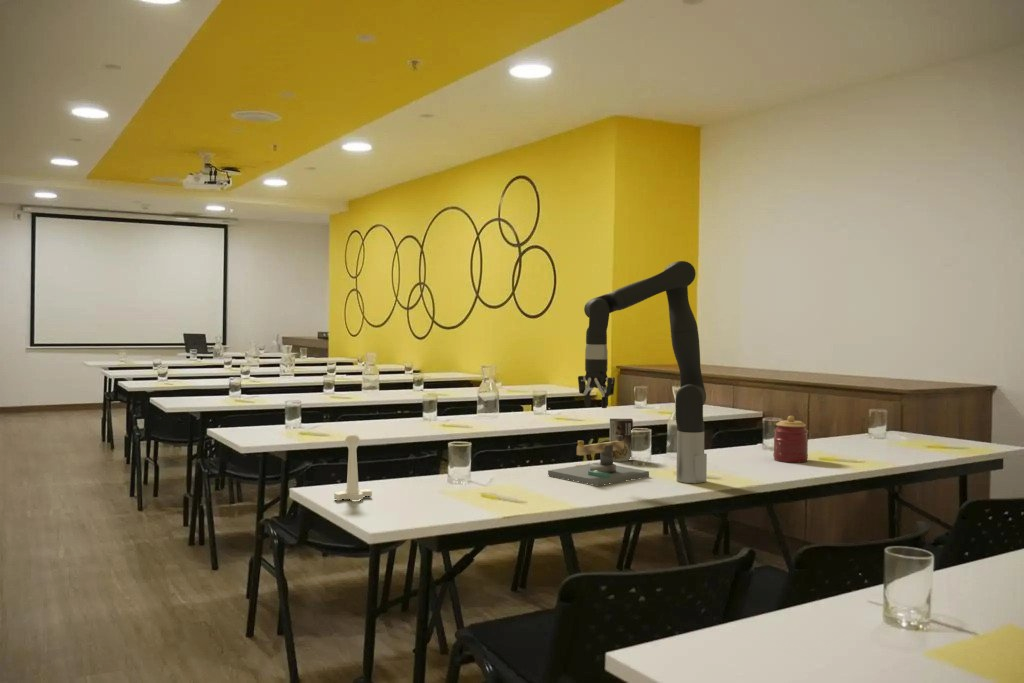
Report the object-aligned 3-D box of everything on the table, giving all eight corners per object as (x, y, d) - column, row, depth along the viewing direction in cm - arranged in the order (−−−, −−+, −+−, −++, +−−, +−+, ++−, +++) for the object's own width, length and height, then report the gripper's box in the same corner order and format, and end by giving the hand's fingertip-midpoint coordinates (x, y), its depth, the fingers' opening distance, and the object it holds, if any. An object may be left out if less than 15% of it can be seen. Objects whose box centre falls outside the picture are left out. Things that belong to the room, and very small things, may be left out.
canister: (812, 463, 329) (813, 417, 328) (778, 463, 329) (779, 417, 328) (801, 457, 342) (802, 413, 341) (769, 457, 342) (769, 413, 341)
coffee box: (632, 459, 337) (632, 418, 337) (633, 461, 331) (633, 420, 330) (609, 458, 338) (609, 418, 338) (609, 461, 332) (609, 420, 331)
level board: (648, 476, 299) (649, 466, 299) (597, 486, 282) (597, 475, 282) (598, 467, 317) (599, 457, 317) (548, 476, 300) (548, 465, 300)
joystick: (367, 495, 267) (367, 431, 266) (375, 500, 260) (375, 434, 260) (332, 499, 262) (332, 434, 261) (340, 503, 255) (340, 437, 254)
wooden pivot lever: (612, 465, 308) (612, 434, 308) (631, 469, 301) (631, 436, 301) (569, 473, 294) (569, 439, 294) (588, 476, 287) (588, 442, 287)
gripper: (620, 358, 286) (620, 408, 286) (585, 356, 295) (585, 405, 296) (607, 358, 280) (607, 409, 280) (572, 357, 290) (572, 406, 290)
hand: (596, 407), depth 288 cm, fingers open, 6 cm apart
